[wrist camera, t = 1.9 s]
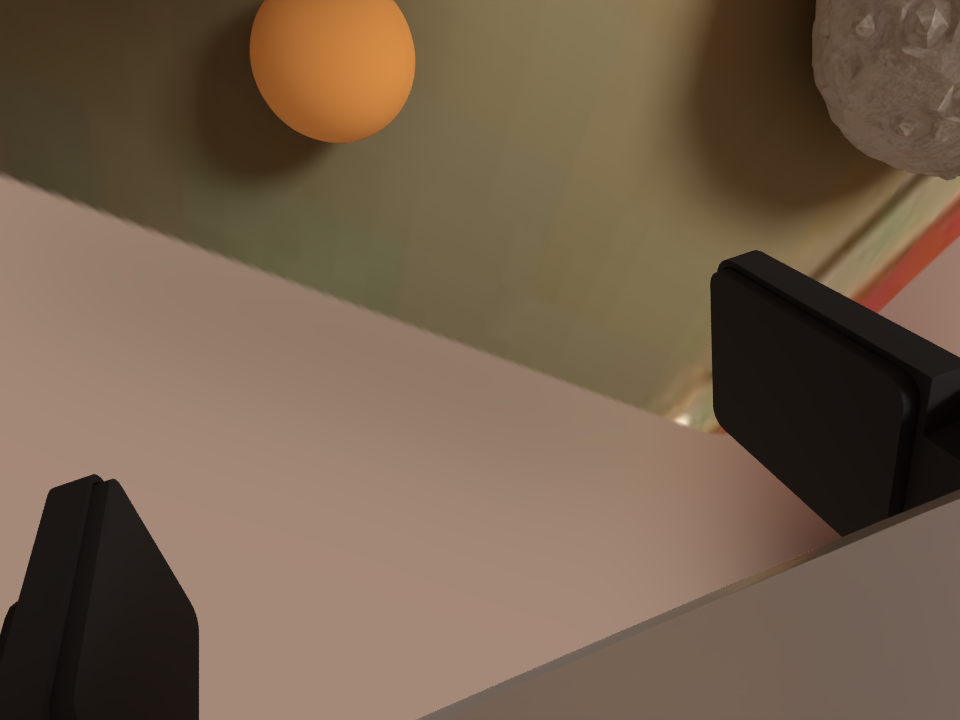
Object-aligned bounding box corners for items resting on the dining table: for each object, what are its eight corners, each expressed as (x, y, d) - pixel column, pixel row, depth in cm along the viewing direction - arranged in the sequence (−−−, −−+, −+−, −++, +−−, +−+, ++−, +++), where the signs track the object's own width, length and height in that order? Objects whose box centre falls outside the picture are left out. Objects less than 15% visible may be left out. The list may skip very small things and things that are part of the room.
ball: (355, -65, 28) (387, -62, 23) (419, 84, 32) (459, 113, 27) (214, 5, 28) (217, 23, 23) (294, 148, 31) (311, 190, 27)
